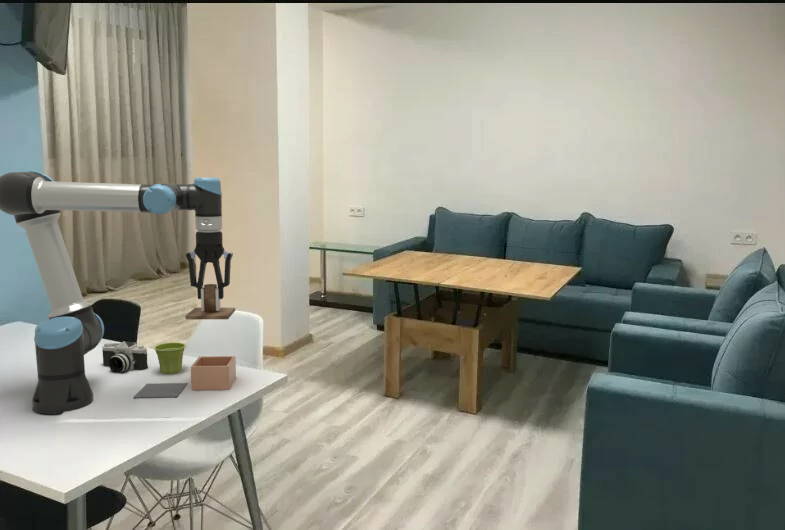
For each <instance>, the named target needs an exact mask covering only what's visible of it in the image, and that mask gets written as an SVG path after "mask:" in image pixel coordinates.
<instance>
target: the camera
mask: <svg viewBox="0 0 785 530" xmlns="http://www.w3.org/2000/svg"><path fill="white" fill-rule="evenodd" d="M101 348H102V350H101V351H102V366H104V367H108V368H109V369H110V371H111V372H112V373H114V374H123V373H124V372H126V371H128V372H129V371H130V372H132V371H134V370H135V371H145V370H148V369H149V367H148V366H149V365H148V348H147V347H145V346H144V345H143V344H142V345H138V343H137V342H134V341H122V342H120V343H119V342H105V343H104V345H102V346H101ZM118 365H121V367H120V368H119V367H118Z"/></svg>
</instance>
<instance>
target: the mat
mask: <svg viewBox="0 0 785 530" xmlns="http://www.w3.org/2000/svg"><path fill="white" fill-rule="evenodd" d="M187 385H188V383H187V382H178V383H176V382H175V383H173V382H170V383H169V382H166V383H164V382H163V383H154V382H153V383H145V385H144V386H143V387H142V388H141V389H140V390H139V391H138V392H137V393H136V394H135V395H134V396H133V399H174V398H175V399H176V398H178V397H179V396H180V394H181V393H182V392H183V391H184V389H185V388H186V387H187Z"/></svg>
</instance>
